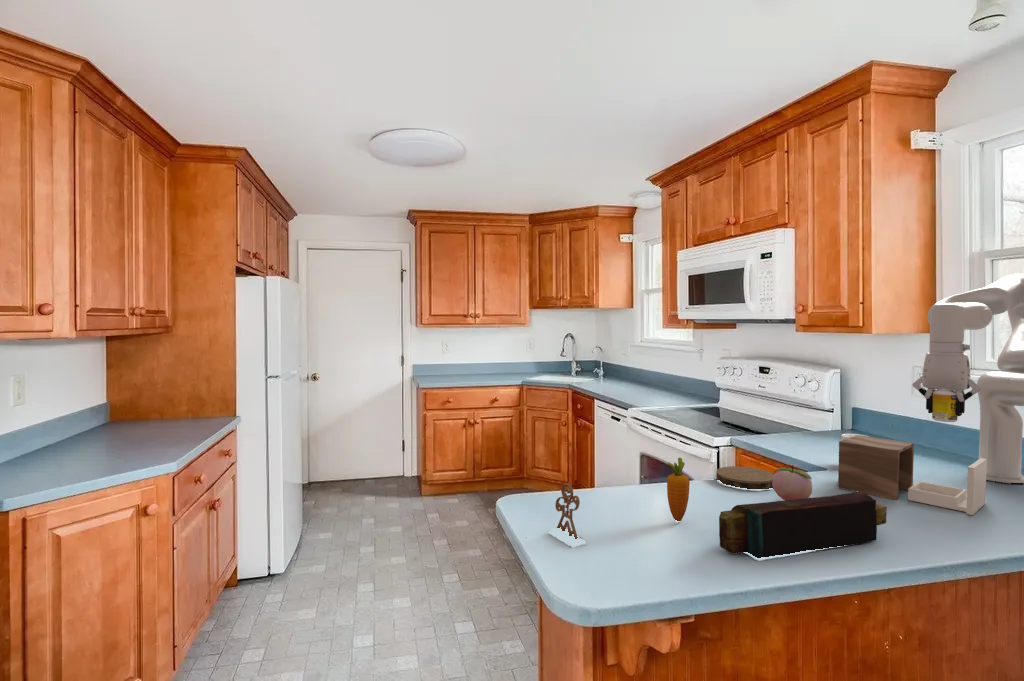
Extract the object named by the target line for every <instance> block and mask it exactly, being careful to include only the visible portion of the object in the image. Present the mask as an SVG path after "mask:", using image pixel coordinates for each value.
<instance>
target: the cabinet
mask: <svg viewBox="0 0 1024 681" xmlns="http://www.w3.org/2000/svg"><path fill="white" fill-rule="evenodd" d="M860 435H861V434H860ZM860 435H856V436H853V437H850V438H848V439H845V440H842V439H841V440H840V441H838V470H837V471H838V472H837V473H838V476H837V478H838V479H837V488H838V487H839V488H838V489H842V488H844V489H843V490H846V489H848V490H847V491H851V490H853V491H852V492H856V491H858V492H860V493H866V494H867V495H869V496H875V497H880V498H885V499H890V500H894V501H895V500H896V501H898V500H899V489H900V490H904V491H905V490H906V491H908V488H910V487H911V486H913V485H914V456H915V455H914V454H915V453H914V452H915V451H914V449H915V442H911V441H910V442H909V441H902V440H901V441H900V440H894V439H889V438H887V439H886V438H881V437H874V436H869V437H867V436H868V435H865V436H860Z"/></svg>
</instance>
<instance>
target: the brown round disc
mask: <svg viewBox="0 0 1024 681" xmlns="http://www.w3.org/2000/svg"><path fill="white" fill-rule="evenodd" d="M715 471H716V475H715V476H716V480H720V481H721V482H722V483H723V484H726V485H731V486H735V487H740V488H747V489H769V488H773V486H772V481H773V478H774V476H775V473H774V472H771V471H767V470H765V469H761V468H755V467H751V466H750V467H749V466H734V465H732V466H723V467H719V468H717V469H716V470H715Z"/></svg>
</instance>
